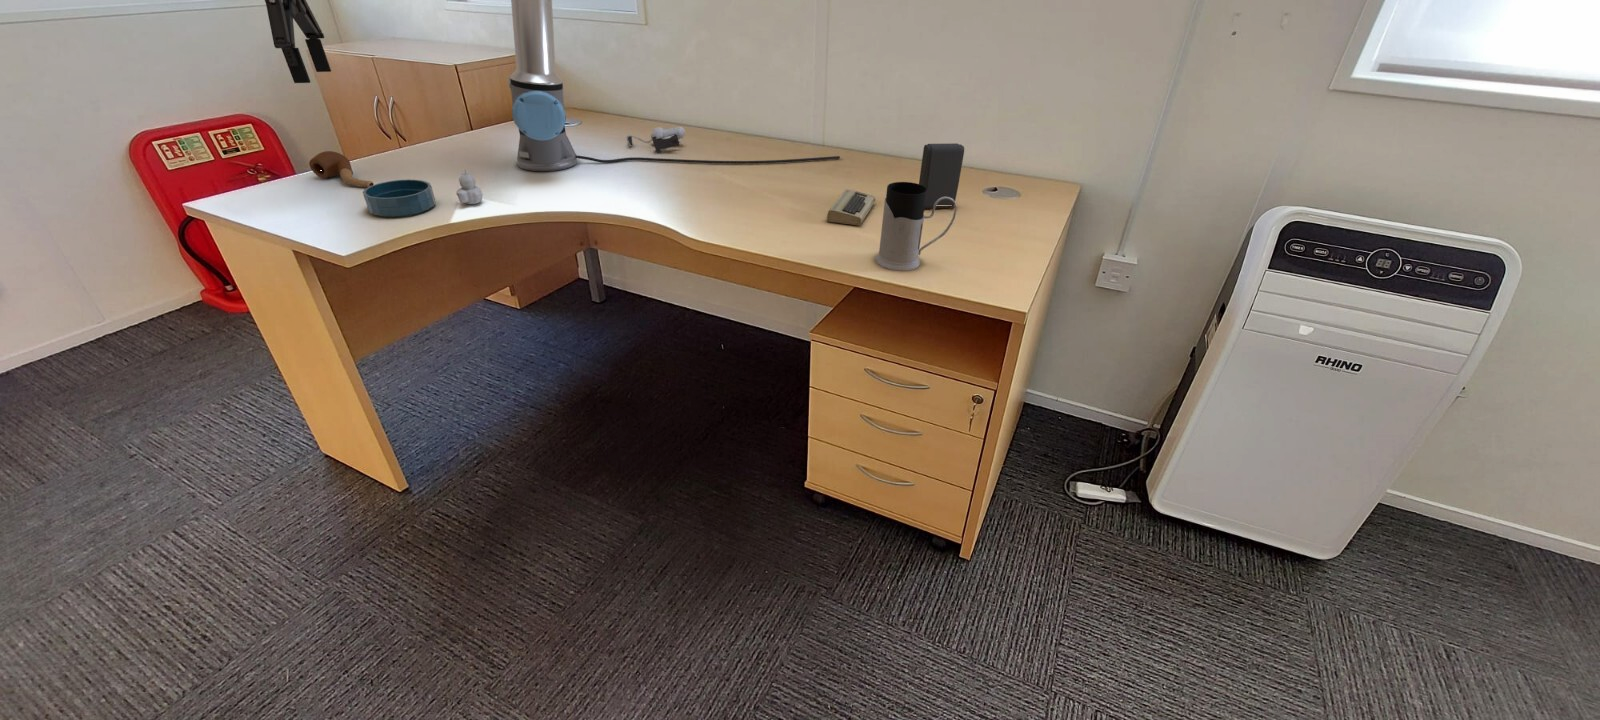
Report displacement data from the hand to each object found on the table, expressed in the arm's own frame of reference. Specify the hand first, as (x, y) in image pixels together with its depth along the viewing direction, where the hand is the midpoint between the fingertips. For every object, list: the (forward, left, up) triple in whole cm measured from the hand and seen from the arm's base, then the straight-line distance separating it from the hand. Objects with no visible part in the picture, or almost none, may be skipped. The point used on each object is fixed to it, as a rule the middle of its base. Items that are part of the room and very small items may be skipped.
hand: (313, 77), depth 138 cm
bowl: (-13, +14, -25) cm, 32 cm away
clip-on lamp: (-73, -28, -26) cm, 82 cm away
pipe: (+3, -10, -26) cm, 28 cm away
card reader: (-134, +37, -26) cm, 141 cm away
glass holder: (-114, +66, -26) cm, 134 cm away
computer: (-112, +37, -26) cm, 121 cm away
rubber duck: (-27, +14, -26) cm, 40 cm away
